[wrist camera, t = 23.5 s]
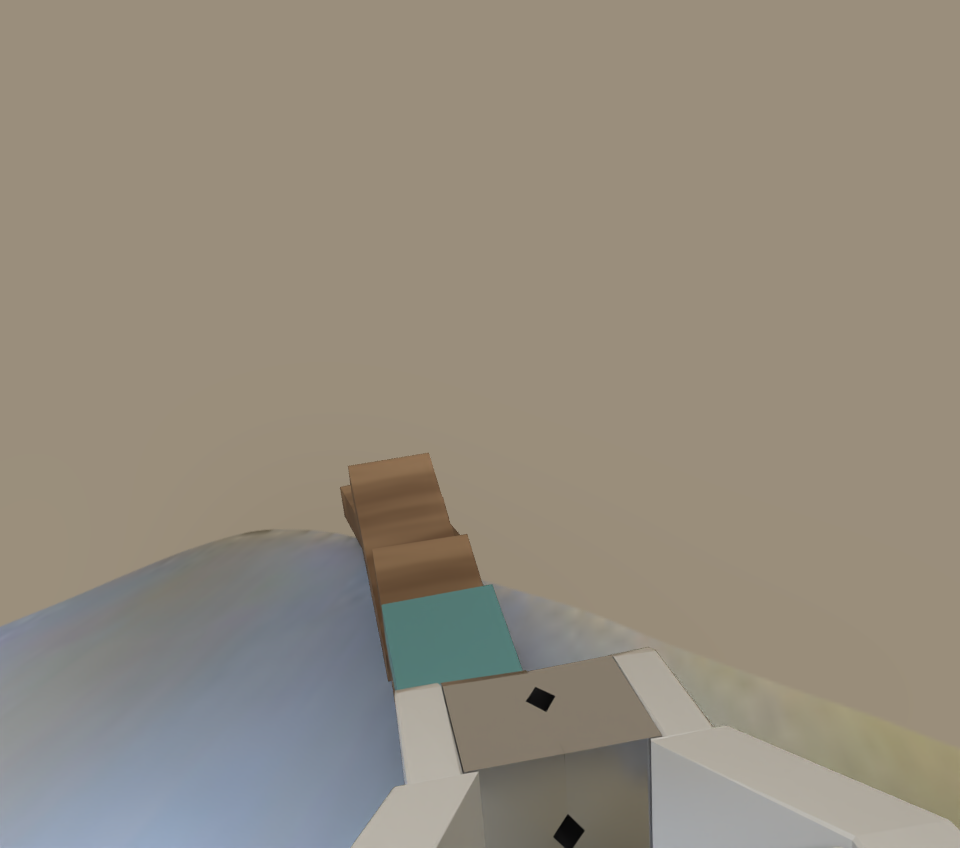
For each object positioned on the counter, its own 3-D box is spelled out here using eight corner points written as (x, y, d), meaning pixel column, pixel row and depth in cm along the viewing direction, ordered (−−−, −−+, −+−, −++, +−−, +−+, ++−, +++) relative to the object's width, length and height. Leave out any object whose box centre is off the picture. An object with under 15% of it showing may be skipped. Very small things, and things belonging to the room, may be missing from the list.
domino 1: (534, 754, 29) (467, 534, 39) (408, 780, 28) (372, 548, 38) (534, 789, 30) (468, 566, 40) (412, 815, 29) (376, 581, 39)
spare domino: (596, 879, 23) (491, 584, 33) (441, 919, 22) (381, 604, 32) (593, 917, 24) (492, 620, 34) (444, 956, 23) (385, 640, 33)
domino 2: (484, 635, 37) (428, 452, 46) (385, 656, 36) (348, 466, 45) (483, 660, 38) (429, 478, 47) (388, 681, 37) (351, 491, 46)
